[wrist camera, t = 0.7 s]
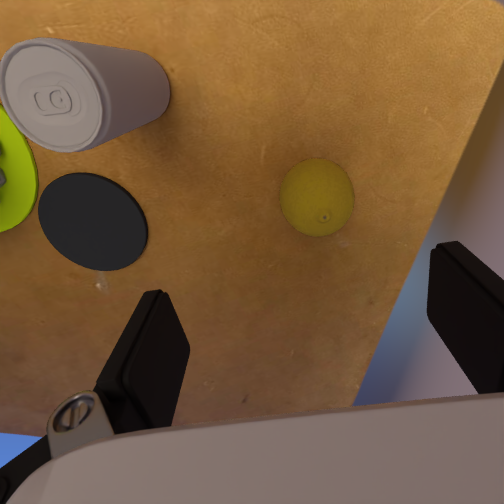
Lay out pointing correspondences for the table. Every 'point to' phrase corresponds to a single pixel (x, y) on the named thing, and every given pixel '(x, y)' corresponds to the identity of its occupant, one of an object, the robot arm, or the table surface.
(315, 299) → the table surface
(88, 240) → the disc
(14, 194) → the toy cauldron
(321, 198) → the lemon
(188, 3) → the table surface
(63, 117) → the beverage can
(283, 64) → the table surface
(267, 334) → the table surface
